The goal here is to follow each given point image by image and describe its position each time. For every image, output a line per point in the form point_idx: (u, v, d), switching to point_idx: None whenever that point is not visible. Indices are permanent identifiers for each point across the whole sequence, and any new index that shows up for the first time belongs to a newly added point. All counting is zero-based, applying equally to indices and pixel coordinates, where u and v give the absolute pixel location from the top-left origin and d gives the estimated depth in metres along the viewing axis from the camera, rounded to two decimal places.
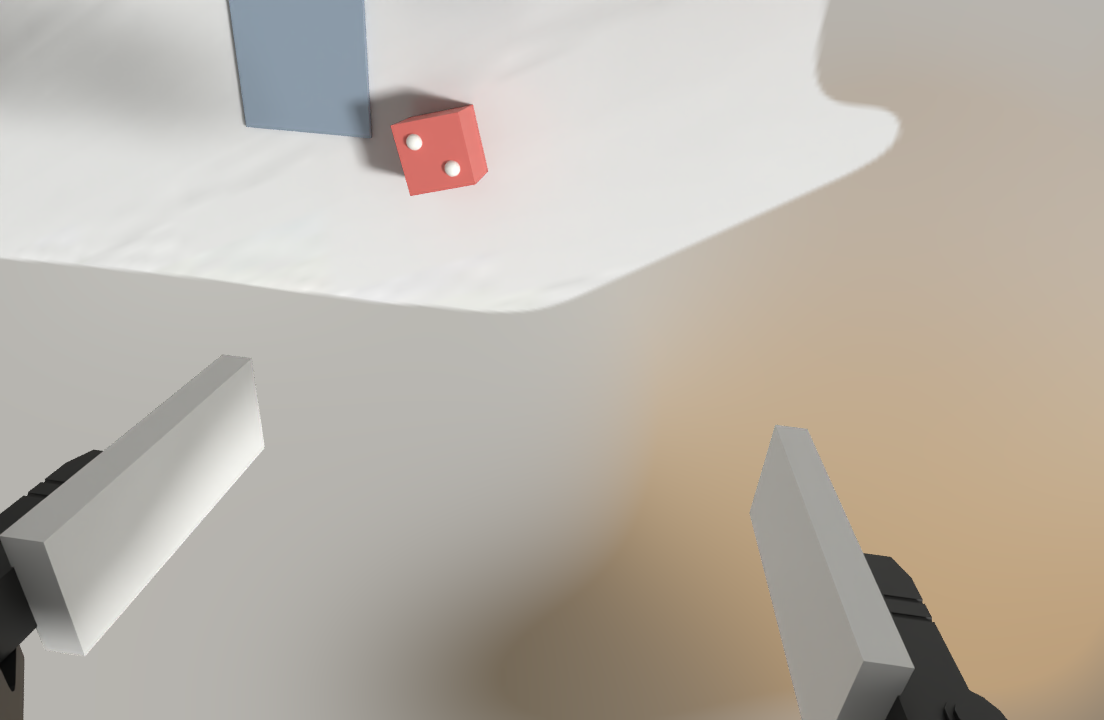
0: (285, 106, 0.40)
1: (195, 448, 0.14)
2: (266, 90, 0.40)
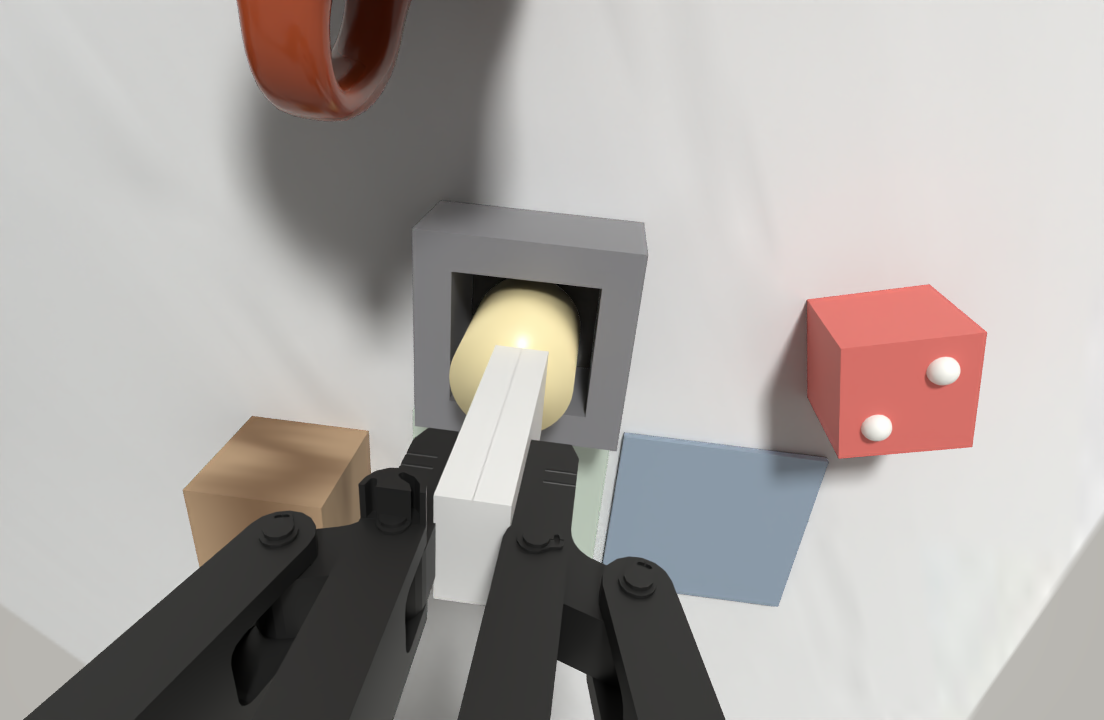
0: (760, 557, 0.28)
1: None
2: (735, 573, 0.28)
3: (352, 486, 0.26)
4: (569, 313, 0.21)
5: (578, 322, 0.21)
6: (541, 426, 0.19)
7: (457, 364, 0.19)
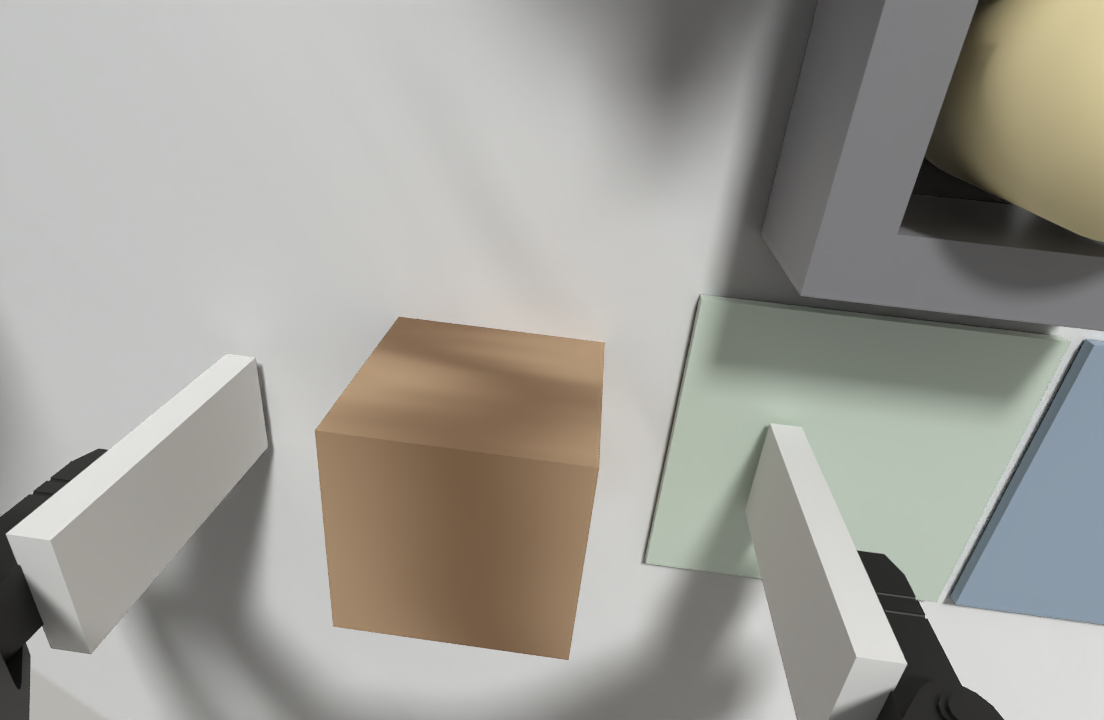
0: None
1: (199, 447, 0.14)
2: None
3: None
4: None
5: None
6: None
7: (1069, 55, 0.08)
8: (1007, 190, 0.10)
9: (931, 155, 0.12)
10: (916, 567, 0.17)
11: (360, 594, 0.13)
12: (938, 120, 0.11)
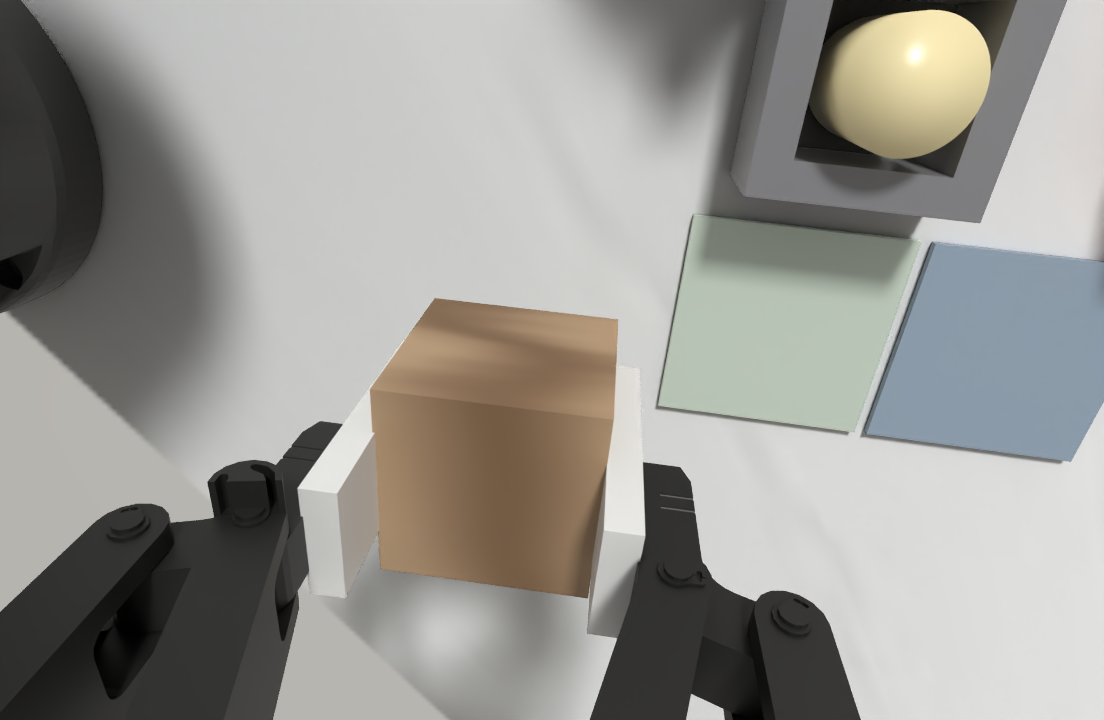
0: (1063, 398, 0.25)
1: None
2: (1029, 419, 0.25)
3: None
4: None
5: None
6: None
7: (858, 65, 0.17)
8: (845, 134, 0.19)
9: (822, 122, 0.21)
10: (838, 405, 0.26)
11: (405, 538, 0.15)
12: (819, 101, 0.20)
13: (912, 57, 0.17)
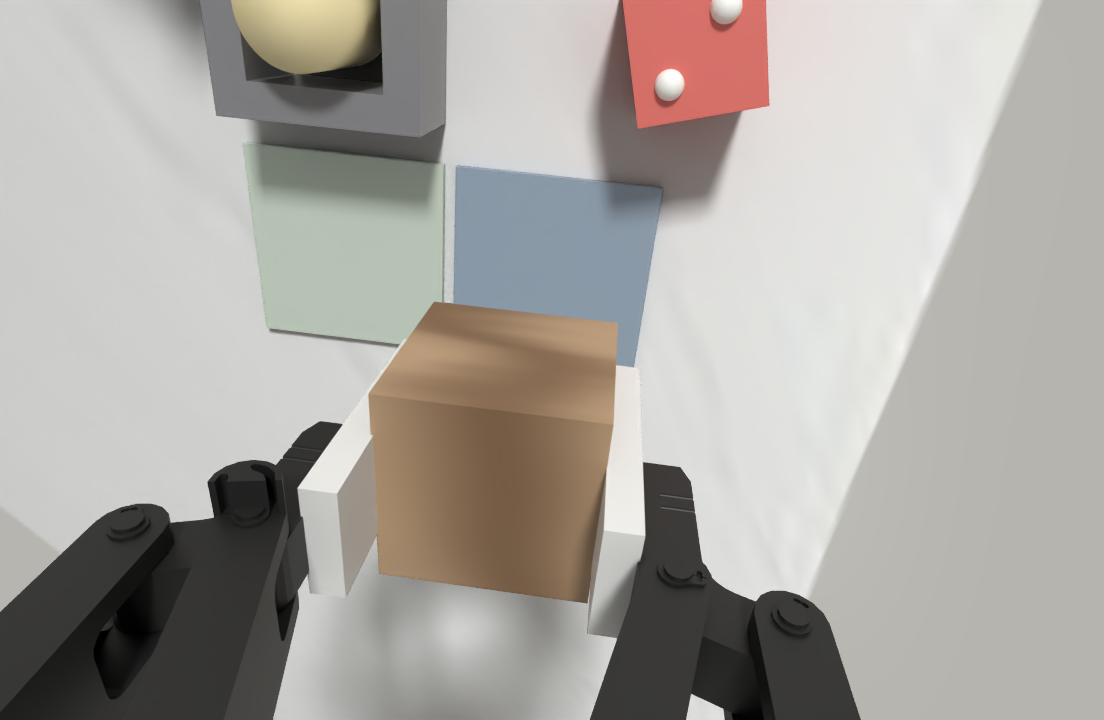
0: (608, 311, 0.27)
1: None
2: None
3: None
4: None
5: None
6: None
7: None
8: None
9: None
10: None
11: (403, 543, 0.15)
12: None
13: None
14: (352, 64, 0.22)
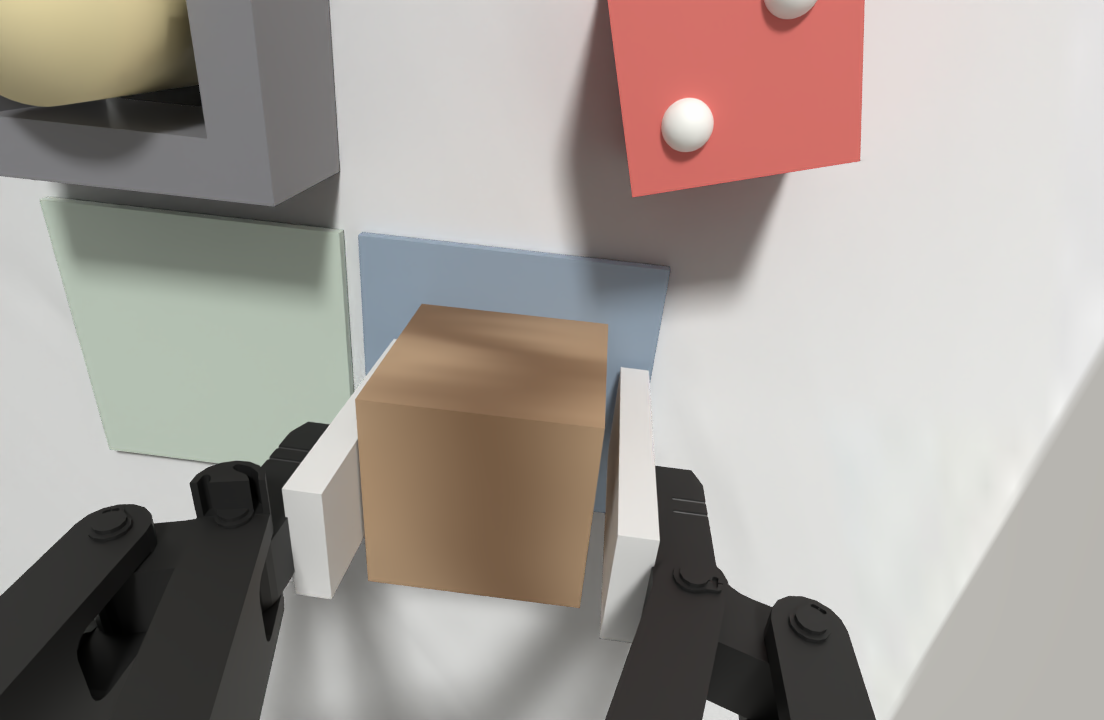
0: None
1: None
2: None
3: None
4: None
5: None
6: None
7: None
8: None
9: None
10: None
11: (393, 550, 0.15)
12: None
13: None
14: (166, 85, 0.13)
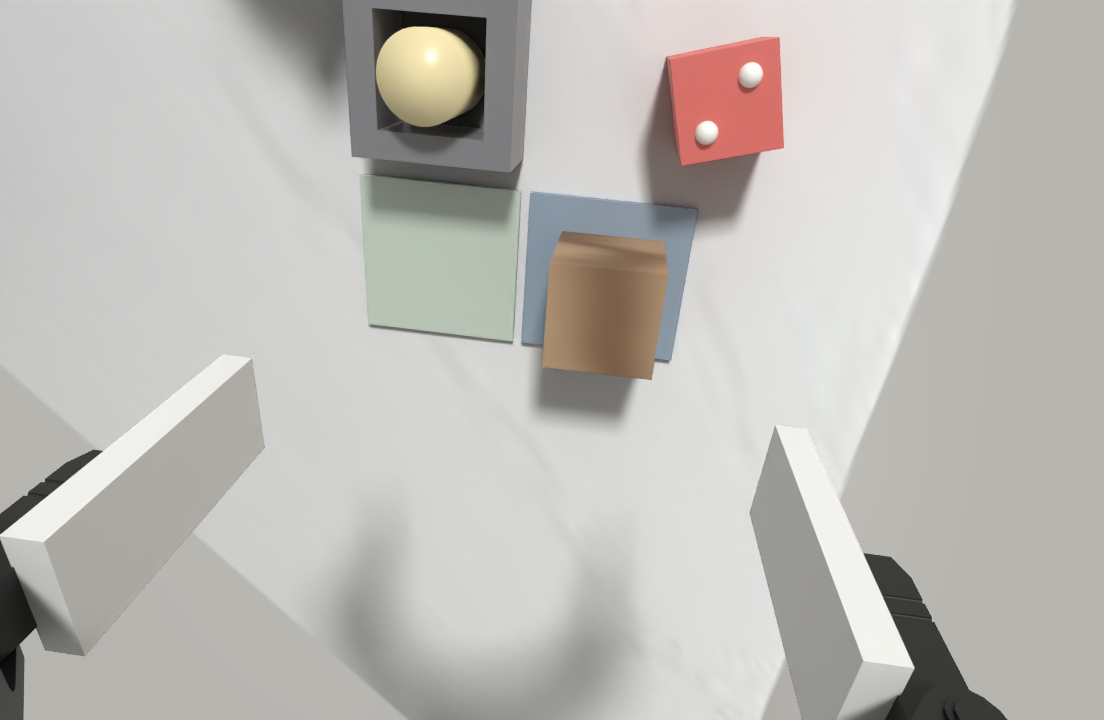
0: None
1: (195, 448, 0.14)
2: None
3: None
4: (472, 47, 0.27)
5: (482, 62, 0.28)
6: None
7: (381, 63, 0.25)
8: None
9: None
10: (496, 320, 0.35)
11: (557, 347, 0.29)
12: None
13: (413, 58, 0.25)
14: None
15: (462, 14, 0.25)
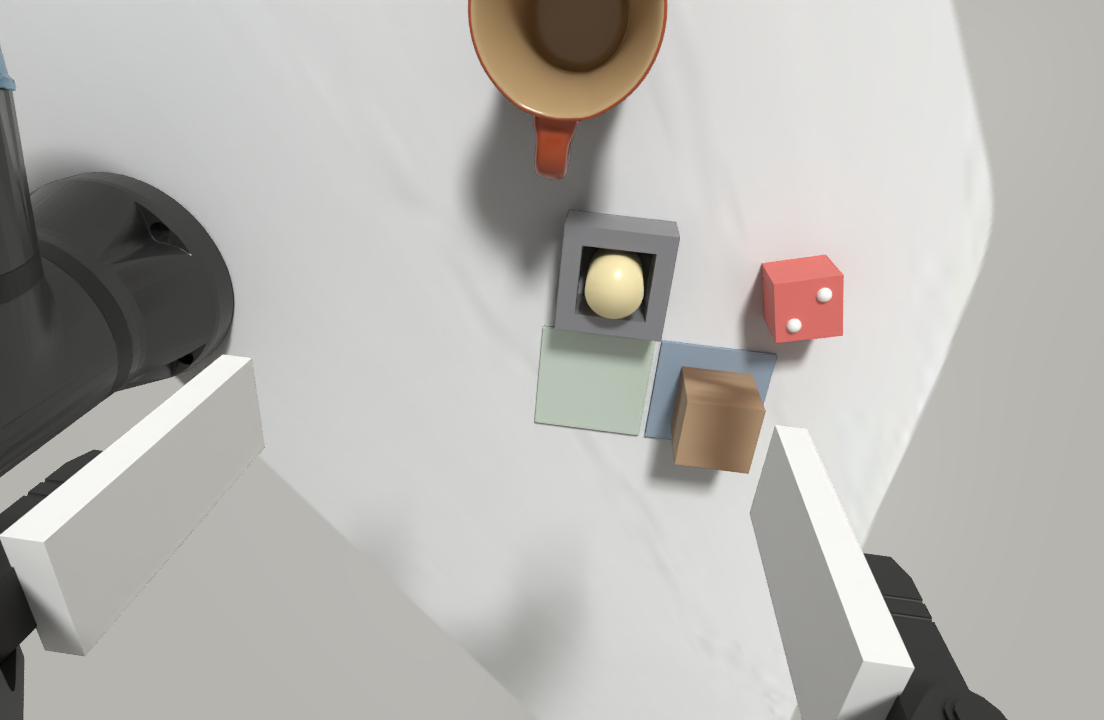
0: None
1: (195, 448, 0.14)
2: None
3: None
4: (638, 261, 0.42)
5: None
6: None
7: (589, 282, 0.40)
8: None
9: None
10: (628, 421, 0.49)
11: (686, 452, 0.44)
12: None
13: (610, 280, 0.40)
14: None
15: (641, 251, 0.40)
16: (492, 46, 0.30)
